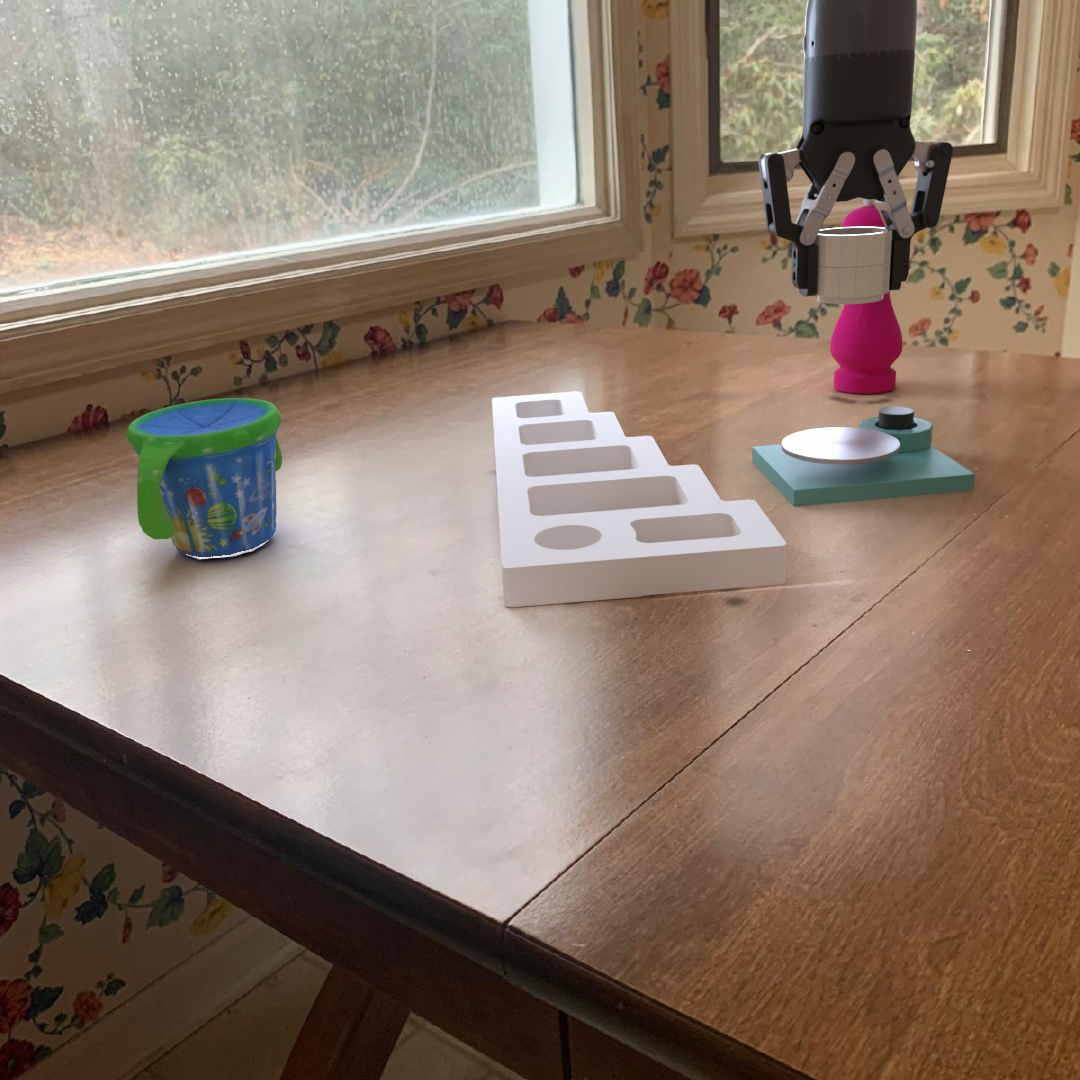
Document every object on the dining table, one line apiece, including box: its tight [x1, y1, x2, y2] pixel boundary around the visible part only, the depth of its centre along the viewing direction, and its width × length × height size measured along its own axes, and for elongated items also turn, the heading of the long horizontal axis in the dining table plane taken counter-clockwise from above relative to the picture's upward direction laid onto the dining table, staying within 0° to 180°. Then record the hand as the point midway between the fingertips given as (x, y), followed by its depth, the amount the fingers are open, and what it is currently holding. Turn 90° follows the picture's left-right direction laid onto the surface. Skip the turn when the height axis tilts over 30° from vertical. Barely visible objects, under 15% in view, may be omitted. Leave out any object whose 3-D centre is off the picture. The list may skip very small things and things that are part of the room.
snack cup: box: [125, 397, 283, 560], centre depth 81 cm, size 16×10×10 cm
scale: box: [751, 416, 976, 508], centre depth 88 cm, size 14×12×3 cm
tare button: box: [878, 405, 915, 430], centre depth 90 cm, size 3×3×2 cm
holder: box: [491, 390, 787, 608], centre depth 89 cm, size 45×18×3 cm, turn 3°
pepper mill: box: [829, 199, 903, 395], centre depth 111 cm, size 7×7×20 cm
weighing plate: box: [780, 426, 900, 465], centre depth 86 cm, size 9×9×1 cm
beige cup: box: [814, 227, 892, 305], centre depth 82 cm, size 6×6×5 cm
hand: (849, 291), depth 83 cm, fingers closed on beige cup, 6 cm apart
